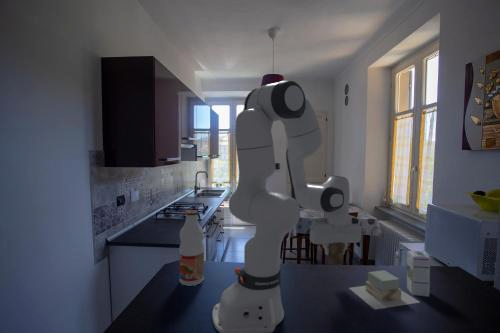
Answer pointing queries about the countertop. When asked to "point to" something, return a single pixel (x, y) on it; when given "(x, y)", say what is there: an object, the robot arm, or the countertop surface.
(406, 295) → the mat
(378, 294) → the tower base
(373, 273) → the tower top
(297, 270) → the countertop surface
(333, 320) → the countertop surface
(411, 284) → the syrup box
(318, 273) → the countertop surface
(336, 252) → the walnut block
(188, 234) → the fruit juice
